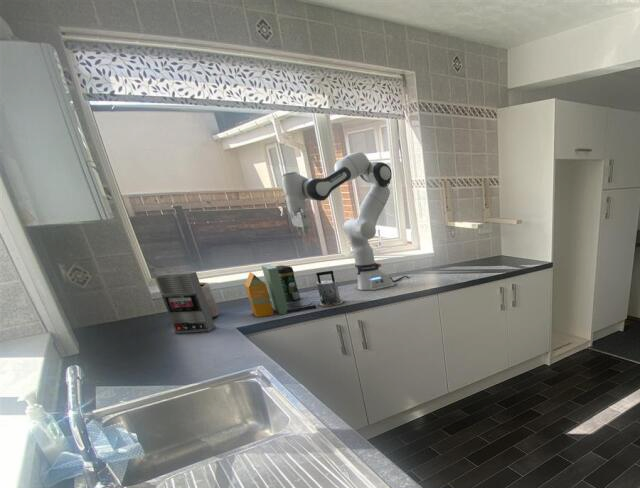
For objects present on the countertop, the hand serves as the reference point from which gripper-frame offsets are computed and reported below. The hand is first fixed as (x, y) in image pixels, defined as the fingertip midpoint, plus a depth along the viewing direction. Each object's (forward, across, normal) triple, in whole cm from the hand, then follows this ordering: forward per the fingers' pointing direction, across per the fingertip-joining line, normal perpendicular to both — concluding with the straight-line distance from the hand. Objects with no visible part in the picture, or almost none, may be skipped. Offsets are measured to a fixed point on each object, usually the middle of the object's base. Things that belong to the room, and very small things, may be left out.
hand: (304, 236), depth 220 cm
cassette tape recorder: (+33, -21, +59) cm, 71 cm away
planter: (+33, +2, +56) cm, 65 cm away
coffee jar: (+33, +9, +12) cm, 37 cm away
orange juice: (+33, -12, +30) cm, 46 cm away
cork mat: (+33, -16, -2) cm, 37 cm away
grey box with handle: (+33, -17, -2) cm, 37 cm away
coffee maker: (+33, -12, +15) cm, 38 cm away
